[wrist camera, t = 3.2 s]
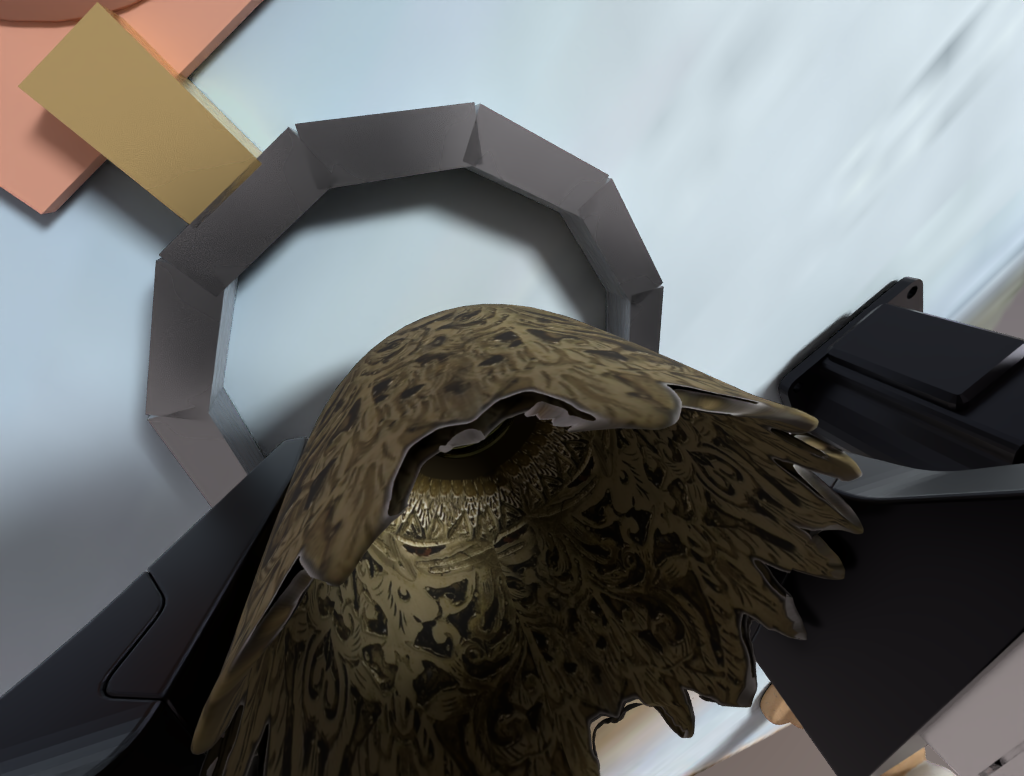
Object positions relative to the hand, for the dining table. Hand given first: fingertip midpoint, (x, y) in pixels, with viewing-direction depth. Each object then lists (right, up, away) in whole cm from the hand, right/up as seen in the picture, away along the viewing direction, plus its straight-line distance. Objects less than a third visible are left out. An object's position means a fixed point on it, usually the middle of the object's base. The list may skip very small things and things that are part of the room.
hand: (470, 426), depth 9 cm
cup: (-1, +1, +2) cm, 2 cm away
